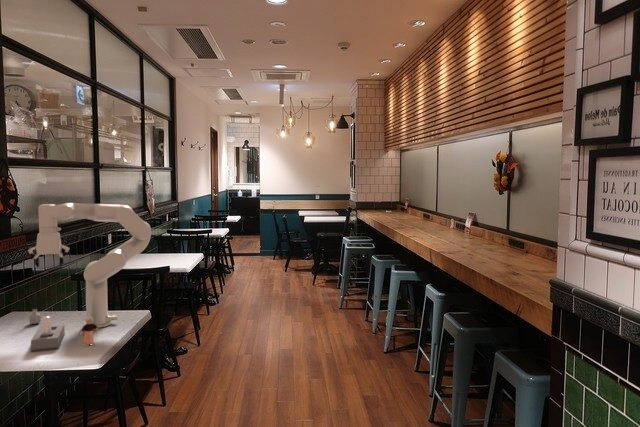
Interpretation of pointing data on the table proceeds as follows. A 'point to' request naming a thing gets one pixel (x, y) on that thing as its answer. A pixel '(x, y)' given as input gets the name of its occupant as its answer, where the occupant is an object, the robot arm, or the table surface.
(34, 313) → the reed diffuser
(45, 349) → the hole block
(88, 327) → the grandmother figurine
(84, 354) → the table surface
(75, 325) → the table surface
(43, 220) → the robot arm
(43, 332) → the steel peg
